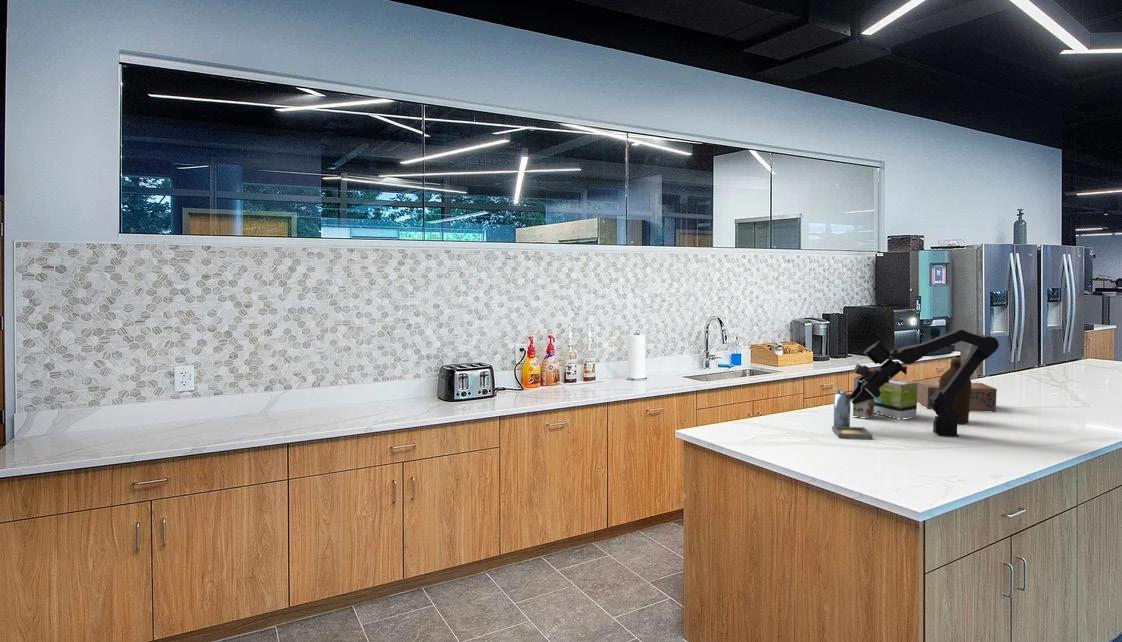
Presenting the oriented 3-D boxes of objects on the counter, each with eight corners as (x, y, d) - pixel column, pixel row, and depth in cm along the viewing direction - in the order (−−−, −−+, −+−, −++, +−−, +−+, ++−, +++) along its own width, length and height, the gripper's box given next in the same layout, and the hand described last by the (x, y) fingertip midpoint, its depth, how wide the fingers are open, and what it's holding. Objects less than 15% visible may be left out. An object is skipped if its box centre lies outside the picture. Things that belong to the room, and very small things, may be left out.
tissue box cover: (981, 405, 271) (981, 383, 270) (995, 412, 257) (996, 388, 256) (916, 403, 277) (916, 381, 276) (927, 410, 263) (927, 387, 262)
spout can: (847, 426, 235) (848, 386, 234) (851, 429, 230) (852, 388, 229) (832, 425, 236) (832, 385, 235) (835, 429, 231) (836, 388, 230)
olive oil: (964, 426, 233) (966, 360, 232) (933, 421, 241) (935, 358, 240) (974, 421, 240) (976, 358, 238) (943, 417, 248) (945, 355, 246)
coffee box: (869, 419, 246) (870, 379, 245) (852, 417, 250) (853, 378, 248) (874, 415, 253) (875, 376, 252) (857, 413, 257) (858, 375, 256)
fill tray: (863, 431, 227) (863, 427, 227) (872, 439, 216) (872, 434, 216) (831, 430, 229) (832, 426, 229) (838, 438, 218) (838, 433, 218)
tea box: (867, 413, 257) (868, 378, 256) (884, 410, 262) (884, 376, 261) (900, 420, 244) (901, 383, 243) (917, 417, 248) (918, 381, 247)
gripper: (864, 354, 237) (833, 381, 242) (871, 360, 220) (837, 389, 224) (887, 375, 235) (854, 402, 239) (895, 383, 217) (860, 412, 222)
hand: (851, 400), depth 231 cm, fingers open, 9 cm apart
